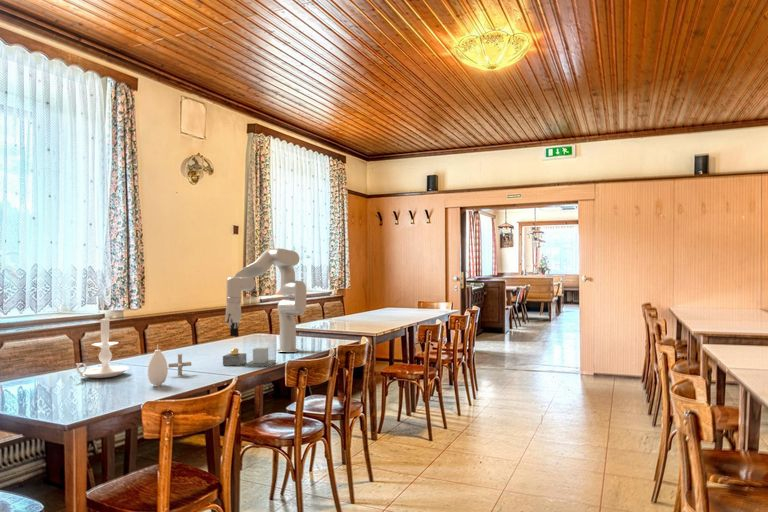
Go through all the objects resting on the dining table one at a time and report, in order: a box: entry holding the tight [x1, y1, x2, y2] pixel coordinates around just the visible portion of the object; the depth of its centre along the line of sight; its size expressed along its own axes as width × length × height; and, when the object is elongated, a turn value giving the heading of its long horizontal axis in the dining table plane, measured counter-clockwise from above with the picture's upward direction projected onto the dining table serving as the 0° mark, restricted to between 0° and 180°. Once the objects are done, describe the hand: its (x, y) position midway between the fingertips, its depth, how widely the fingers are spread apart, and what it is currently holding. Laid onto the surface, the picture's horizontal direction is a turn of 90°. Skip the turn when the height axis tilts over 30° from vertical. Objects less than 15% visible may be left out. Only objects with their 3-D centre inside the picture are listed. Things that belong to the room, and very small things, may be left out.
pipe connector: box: [167, 353, 192, 376], centre depth 245 cm, size 10×10×10 cm
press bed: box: [244, 359, 277, 367], centre depth 269 cm, size 12×12×2 cm
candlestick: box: [75, 317, 130, 379], centre depth 244 cm, size 21×25×28 cm
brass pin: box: [230, 348, 239, 355], centre depth 272 cm, size 4×4×5 cm
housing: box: [252, 346, 269, 363], centre depth 270 cm, size 6×6×7 cm
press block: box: [222, 352, 247, 366], centre depth 272 cm, size 9×9×5 cm
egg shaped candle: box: [147, 343, 169, 387], centre depth 223 cm, size 8×8×18 cm
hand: (233, 335), depth 272 cm, fingers closed
